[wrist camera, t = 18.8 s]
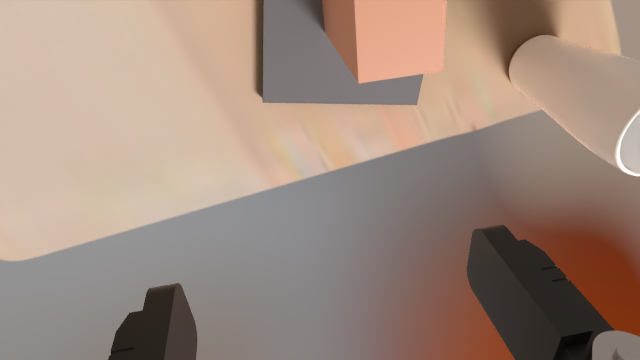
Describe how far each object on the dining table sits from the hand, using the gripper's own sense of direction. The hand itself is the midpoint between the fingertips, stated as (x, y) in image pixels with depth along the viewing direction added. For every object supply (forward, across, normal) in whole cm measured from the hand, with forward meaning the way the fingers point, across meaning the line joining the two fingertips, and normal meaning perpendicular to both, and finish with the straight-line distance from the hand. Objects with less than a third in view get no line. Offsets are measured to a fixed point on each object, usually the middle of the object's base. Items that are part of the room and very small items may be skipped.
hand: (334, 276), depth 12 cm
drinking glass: (+28, +24, -6) cm, 37 cm away
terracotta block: (+27, +7, +2) cm, 28 cm away
